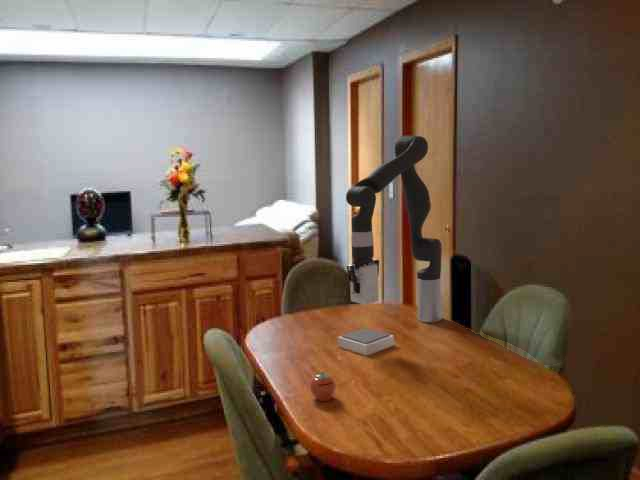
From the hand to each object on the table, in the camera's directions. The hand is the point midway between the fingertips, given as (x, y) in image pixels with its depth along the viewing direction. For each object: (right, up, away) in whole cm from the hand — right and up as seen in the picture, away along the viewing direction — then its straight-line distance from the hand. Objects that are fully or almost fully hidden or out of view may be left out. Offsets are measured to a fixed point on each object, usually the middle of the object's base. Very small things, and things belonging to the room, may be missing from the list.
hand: (364, 291), depth 201 cm
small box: (0, -4, +1) cm, 4 cm away
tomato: (-15, -27, -40) cm, 50 cm away
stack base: (+1, -20, +3) cm, 20 cm away
